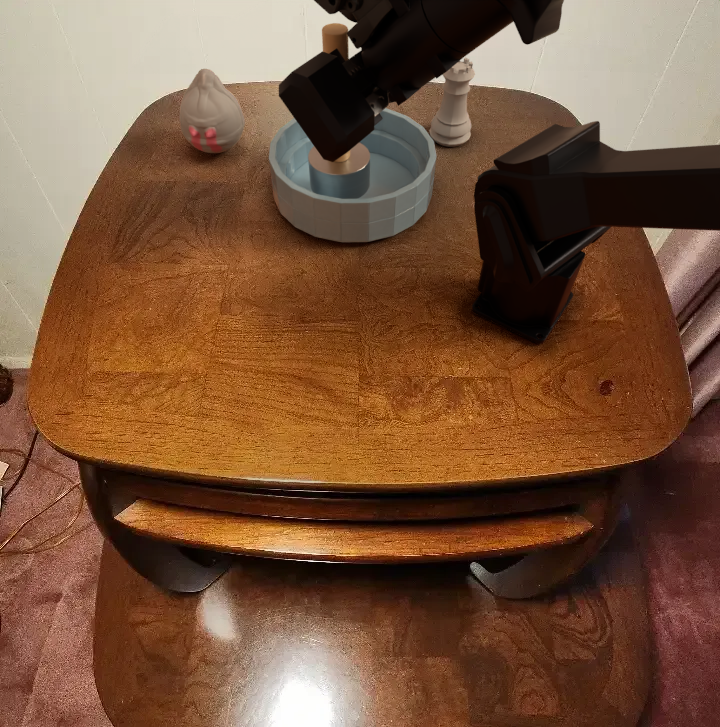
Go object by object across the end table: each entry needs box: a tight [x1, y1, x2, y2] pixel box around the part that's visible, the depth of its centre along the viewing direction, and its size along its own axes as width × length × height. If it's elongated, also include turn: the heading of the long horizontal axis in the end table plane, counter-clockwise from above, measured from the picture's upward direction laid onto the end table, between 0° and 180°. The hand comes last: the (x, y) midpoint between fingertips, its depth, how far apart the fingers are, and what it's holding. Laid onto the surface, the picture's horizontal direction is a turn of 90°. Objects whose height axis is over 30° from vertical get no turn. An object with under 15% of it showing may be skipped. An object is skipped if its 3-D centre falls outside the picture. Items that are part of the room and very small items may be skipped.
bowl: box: [268, 107, 437, 243], centre depth 59 cm, size 15×15×5 cm
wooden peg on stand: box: [308, 22, 370, 199], centre depth 52 cm, size 6×6×14 cm
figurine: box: [179, 68, 246, 154], centre depth 62 cm, size 6×7×8 cm
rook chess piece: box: [429, 57, 476, 148], centre depth 63 cm, size 4×4×8 cm
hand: (325, 113), depth 53 cm, fingers closed on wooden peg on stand
